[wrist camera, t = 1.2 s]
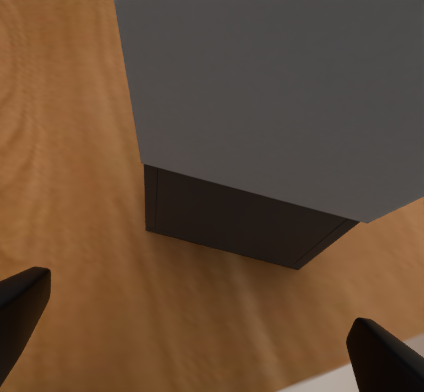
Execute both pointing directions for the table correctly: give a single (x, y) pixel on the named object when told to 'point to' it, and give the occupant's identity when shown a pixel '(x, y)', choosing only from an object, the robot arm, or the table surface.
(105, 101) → the table surface
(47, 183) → the table surface
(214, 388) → the table surface
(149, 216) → the dark grey box
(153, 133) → the lid
